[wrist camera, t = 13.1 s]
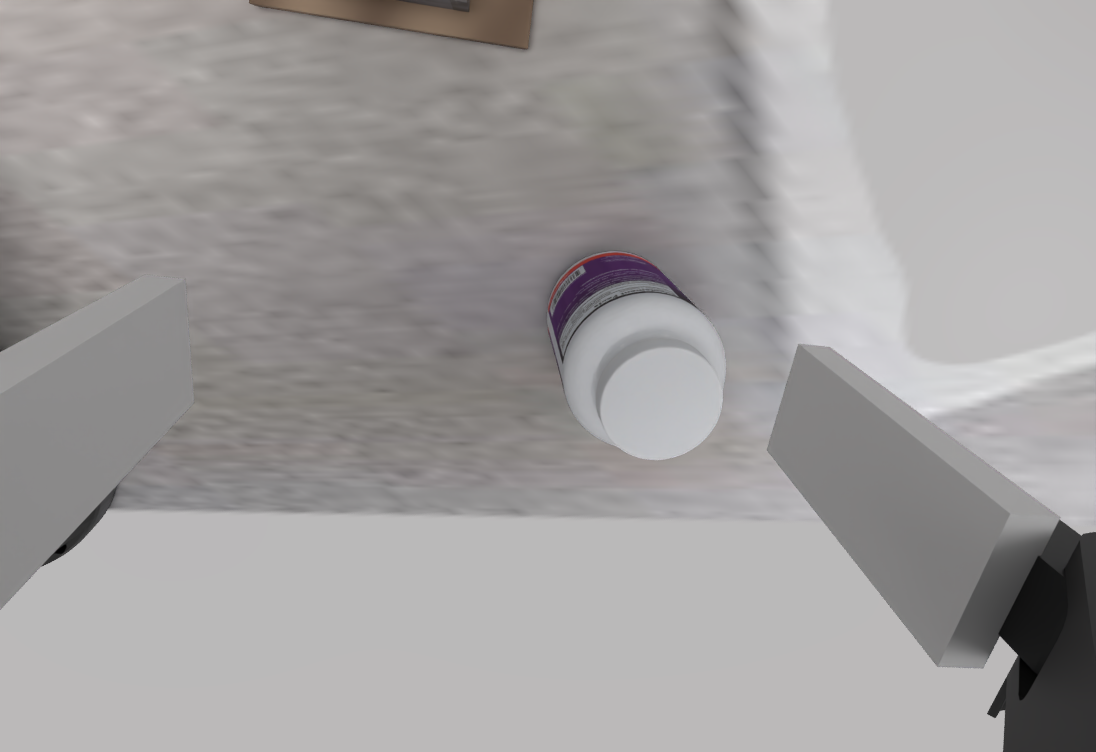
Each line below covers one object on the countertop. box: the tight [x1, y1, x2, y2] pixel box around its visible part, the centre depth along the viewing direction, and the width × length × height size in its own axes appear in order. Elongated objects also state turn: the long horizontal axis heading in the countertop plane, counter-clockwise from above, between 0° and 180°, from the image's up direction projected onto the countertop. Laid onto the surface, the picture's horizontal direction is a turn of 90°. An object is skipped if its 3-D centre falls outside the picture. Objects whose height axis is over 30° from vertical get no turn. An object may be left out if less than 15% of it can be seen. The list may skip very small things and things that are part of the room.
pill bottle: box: [547, 251, 726, 460], centre depth 36 cm, size 8×8×14 cm
